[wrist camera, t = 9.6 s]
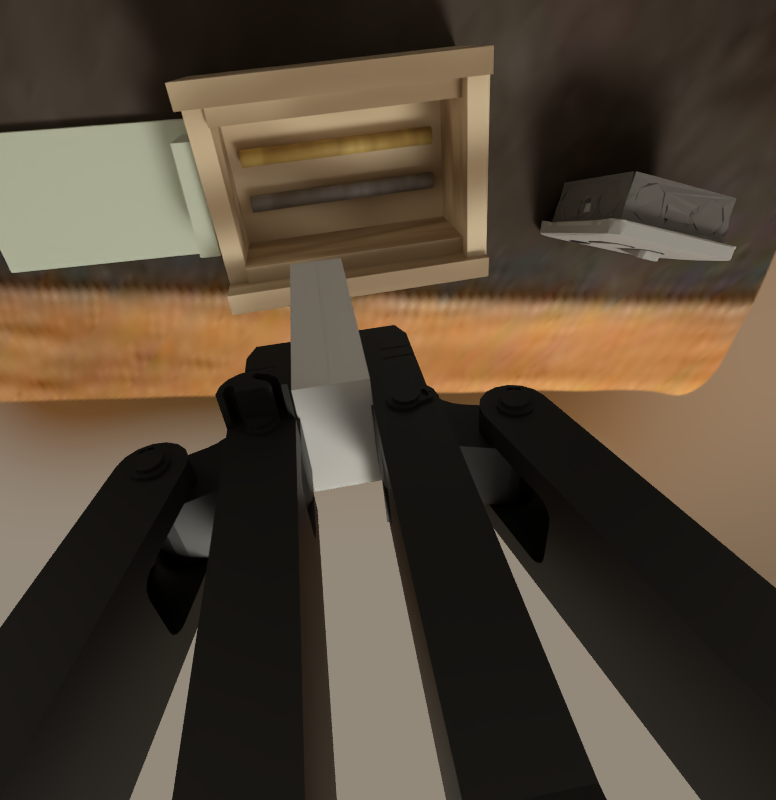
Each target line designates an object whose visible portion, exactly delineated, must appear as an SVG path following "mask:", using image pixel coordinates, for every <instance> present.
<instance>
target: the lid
mask: <svg viewBox="0 0 776 800" xmlns="http://www.w3.org/2000/svg"><path fill="white" fill-rule="evenodd" d="M0 250H1V252H2V254H3V256H4V258H5V260H6V262H7V264H8V266H9V268H10V270H11V273H16V272H26V271H35V270H45V269H55V268H64V267H74V266H84V265H93V264H103V263H113V262H122V261H132V260H142V259H151V258H161V257H171V256H180V255H190V254H199V253H200V257H201V258H205V257H214V256H221V250H220V246H219V243H218V239H217V235H216V232H215V228H214V225H213V221H212V218H211V214H210V211H209V207H208V204H207V200H206V197H205V193H204V190H203V186H202V183H201V179H200V176H199V172H198V169H197V165H196V162H195V158H194V155H193V151H192V148H191V144H190V140H189V137H188V133H187V130H186V126H185V123H184V119H170V120H157V121H144V122H131V123H118V124H104V125H91V126H78V127H65V128H52V129H38V130H25V131H12V132H0Z"/></svg>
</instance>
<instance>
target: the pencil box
mask: <svg viewBox="0 0 776 800" xmlns="http://www.w3.org/2000/svg"><path fill="white" fill-rule="evenodd" d="M493 64H494V45H490V46H451V47H442V48H433V49H424V50H415V51H406V52H398V53H389V54H380V55H371V56H362V57H353V58H345V59H336V60H327V61H318V62H309V63H300V64H292V65H283V66H274V67H265V68H256V69H247V70H238V71H230V72H221V73H212V74H203V75H194V76H187V77H183V78H180V79H177V80H173V81H170V82H166V83H165V85H166V88H167V92H168V95H169V99H170V102H171V105H172V109H173V112H177V111H181V112H182V116H183V119H184V123H185V126H186V130H187V133H188V137H189V140H190V144H191V148H192V151H193V155H194V158H195V162H196V165H197V169H198V172H199V176H200V179H201V183H202V186H203V190H204V193H205V197H206V200H207V204H208V207H209V211H210V214H211V218H212V221H213V225H214V228H215V232H216V235H217V239H218V243H219V246H220V250H221V253H222V257H223V260H224V264H225V267H226V271H227V274H228V278H229V281H230V287H229V292H228V296H227V297H228V301H229V304H230V307H231V311H232V314H233V315H236V314H243V313H249V312H256V311H262V310H269V309H275V308H282V307H289V306H290V265H292V264H299V263H307V262H314V261H321V260H329V259H336V258H341V260H342V264H343V268H344V273H345V277H346V281H347V285H348V289H349V293H350V297H354V296H361V295H367V294H374V293H380V292H387V291H393V290H400V289H406V288H413V287H419V286H426V285H432V284H439V283H446V282H452V281H459V280H465V279H472V278H478V277H485V276H488V264H489V257H488V256H487V255H486V235H487V189H488V143H489V98H490V74H493Z"/></svg>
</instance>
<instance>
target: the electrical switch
mask: <svg viewBox="0 0 776 800" xmlns="http://www.w3.org/2000/svg"><path fill="white" fill-rule="evenodd" d="M633 174H634V171H632V172H626V173H620V174H614V175H608V176H602V177H596V178H589V179H583V180H577V181H571V182H565V183H564V186H563V190H562V194H561V198H560V201H559V203H558V205H557V207H556V211H555V216H554V218H553V220H552V222H550V221H542V224H541V230H540V233H541V234H542V235H545V236H548V237H552V238H557V239H562V240H566V241H571V242H576V243H580V244H585V245H590V246H594V247H599V248H604V249H608V250H613V251H617V252H622V253H627V254H631V255H634V256H637V257H639V258H643V259H647V260H651V261H657V260H658V258H670V259H684V260H714V261H728V260H730V259H731V257H732V255H733V252H734V250H735V248H736V247H735V246H731V245H727V244H724V237H725V234H726V232H727V230H728V226H729V217H730V215H731V212H732V209H733V207H734V204H735V201H736V198H733V197H730V196H726V195H722V194H719V193H715V192H711V191H707V190H704V189H700V188H696V187H693V186H689V185H685V184H682V183H678V182H674V181H671V180H667V179H663V178H660V177H656V176H652V175H649V174H645V173H641V172H638V171H635V174H634V177H633ZM632 178H633V181H632ZM620 181H621V182H620ZM631 182H632V184H631ZM648 183H649V184H648ZM630 187H631V188H630ZM713 199H715V200H713Z"/></svg>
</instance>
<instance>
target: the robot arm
mask: <svg viewBox="0 0 776 800" xmlns="http://www.w3.org/2000/svg"><path fill="white" fill-rule="evenodd" d="M290 310H291V342H287V343H280V344H274V345H267V346H260V347H256V348H255V349H254V351H253V352H252V353H251V354H250V355H249V357H248V358H247V360H246V368H245V373H241V374H239V375H237V376H235V377H233V378H231V379H228V380H227V381H226V382H225V383H224V384H222V385H221V386H220V387H219V389H218V391H217V393H216V398H217V401H218V404H219V407H220V410H221V413H222V415H223V418H224V421H225V424H226V427H227V435H226V438H225V439H223V440H221V441H220V442H218V443H217V444H215V445H212V446H210V447H208V448H206V449H203V450H200V451H198V452H195V453H192V454H190V455H188V454H187V452H186V449H184V448H183V447H181V446H180V445H178V444H174V443H166V442H165V443H158V444H152V445H149V446H146V447H143V448H141V449H138V450H137V451H135V452H133V453H132V454H130V455H129V456H127V457H125V458H124V459H123V460H122V461H121V462H120V463H119V465H118V466H117V467H116V468H115V469H114V471H113V472H112V473H111V475H110V476H109V477H108V479H107V480H106V482H105V483H104V484H103V486H102V487H101V489H100V490H99V491H98V493H97V494H96V496H95V497H94V498H93V500H92V501H91V503H90V504H89V505H88V507H87V508H86V509H85V511H84V512H83V514H82V515H81V516H80V518H79V519H78V521H77V522H76V523H75V525H74V526H73V527H72V529H71V530H70V532H69V533H68V534H67V536H66V537H65V539H64V540H63V541H62V543H61V544H60V545H59V547H58V548H57V550H56V551H55V553H54V554H53V555H52V557H51V558H50V559H49V561H48V562H47V563H46V565H45V566H44V568H43V569H42V570H41V572H40V573H39V575H38V576H37V578H36V579H35V580H34V582H33V583H32V584H31V586H30V587H29V589H28V590H27V591H26V593H25V594H24V595H23V597H22V598H21V600H20V601H19V602H18V604H17V605H16V606H15V608H14V609H13V611H12V612H11V613H10V615H9V616H8V618H7V619H6V620H5V622H4V623H3V625H2V626H1V627H0V800H129V799H130V797H131V794H132V792H133V789H134V786H135V784H136V782H137V779H138V776H139V774H140V772H141V769H142V766H143V764H144V762H145V759H146V757H147V754H148V751H149V749H150V746H151V744H152V741H153V739H154V736H155V734H156V731H157V729H158V726H159V724H160V721H161V719H162V716H163V714H164V711H165V709H166V706H167V703H168V701H169V698H170V696H171V693H172V691H173V688H174V686H175V683H176V681H177V678H178V676H179V673H180V671H181V668H182V665H183V663H184V661H185V658H186V655H187V653H188V650H189V648H190V645H191V643H192V640H193V638H194V635H195V633H196V630H197V628H198V630H197V637H196V643H195V650H194V657H193V664H192V670H191V677H190V683H189V691H188V697H187V703H186V710H185V717H184V724H183V730H182V737H181V744H180V751H179V757H178V764H177V770H176V777H175V784H174V791H173V797H172V800H337V797H336V783H335V767H334V752H333V737H332V722H331V706H330V691H329V676H328V663H327V646H326V631H325V616H324V603H323V602H324V601H323V586H322V571H321V555H320V540H319V525H318V512H317V511H318V510H317V506H316V502H315V497H314V493H313V485H314V489H315V491H322V490H328V489H333V488H339V487H344V486H351V485H357V484H362V483H368V482H374V481H379V480H382V481H383V490H384V497H385V506H386V514H387V521H388V522H389V523H390V527H391V532H392V537H393V542H394V547H395V552H396V557H397V562H398V566H399V571H400V576H401V581H402V586H403V591H404V595H405V601H406V605H407V610H408V615H409V620H410V625H411V630H412V635H413V640H414V644H415V649H416V654H417V659H418V663H419V669H420V674H421V679H422V684H423V688H424V693H425V698H426V703H427V707H428V713H429V717H430V723H431V727H432V732H433V737H434V742H435V747H436V751H437V757H438V762H439V766H440V771H441V776H442V781H443V786H444V791H445V796H446V800H607V799H606V797H605V795H604V793H603V791H602V789H601V787H600V785H599V783H598V780H597V778H596V776H595V773H594V770H593V768H592V766H591V763H590V761H589V758H588V756H587V754H586V751H585V749H584V746H583V744H582V741H581V739H580V737H579V734H578V732H577V729H576V727H575V725H574V722H573V720H572V717H571V715H570V712H569V710H568V708H567V705H566V703H565V700H564V698H563V696H562V693H561V691H560V688H559V686H558V683H557V681H556V679H555V676H554V674H553V671H552V669H551V666H550V664H549V662H548V660H547V657H546V654H545V652H544V650H543V647H542V645H541V642H540V640H539V637H538V635H537V633H536V630H535V628H534V625H533V623H532V621H531V618H530V616H529V613H528V611H527V608H526V606H525V604H524V601H523V599H522V596H521V594H520V591H519V589H518V587H517V584H516V582H515V579H514V577H513V575H512V572H511V570H510V567H509V565H508V562H507V560H506V558H505V555H504V553H503V550H502V548H501V546H500V543H499V541H498V538H497V536H496V533H495V531H494V529H495V530H496V531H497V533H498V534H499V535H500V537H501V538H502V539H503V540H504V542H505V543H506V545H507V546H508V547H509V549H510V550H511V551H512V553H513V554H514V555H515V556H516V558H517V559H518V560H519V562H520V563H521V564H522V566H523V567H524V568H525V570H526V571H527V572H528V574H529V575H530V576H531V577H532V579H533V580H534V581H535V583H536V584H537V585H538V587H539V588H540V589H541V591H542V592H543V593H544V594H545V596H546V597H547V598H548V600H549V601H550V602H551V604H552V605H553V606H554V608H555V609H556V610H557V612H558V613H559V614H560V616H561V617H562V618H563V619H564V621H565V622H566V623H567V625H568V626H569V627H570V629H571V630H572V631H573V632H574V634H575V635H576V637H577V638H578V639H579V640H580V642H581V643H582V644H583V646H584V647H585V648H586V650H587V651H588V652H589V654H590V655H591V656H592V657H593V659H594V660H595V661H596V663H597V664H598V665H599V667H600V668H601V669H602V671H603V672H604V673H605V675H606V676H607V677H608V678H609V680H610V681H611V682H612V684H613V685H614V686H615V688H616V689H617V690H618V692H619V693H620V694H621V696H622V697H623V698H624V699H625V701H626V702H627V703H628V705H629V706H630V707H631V709H632V710H633V711H634V712H635V714H636V715H637V717H638V718H639V719H640V720H641V722H642V723H643V724H644V726H645V727H646V728H647V730H648V731H649V732H650V734H651V735H652V736H653V737H654V739H655V740H656V741H657V743H658V744H659V745H660V747H661V748H662V749H663V751H664V752H665V753H666V755H667V756H668V757H669V758H670V760H671V761H672V762H673V764H674V765H675V766H676V767H677V769H678V770H679V772H680V773H681V774H682V776H683V777H684V778H685V780H686V781H687V782H688V783H689V785H690V786H691V787H692V789H693V790H694V791H695V793H696V794H697V795H698V797H699V798H700V799H701V800H776V588H775V587H774V586H773V585H771V584H770V583H769V582H768V581H767V580H765V579H764V578H763V577H762V576H761V575H759V574H758V573H757V572H756V571H754V570H753V569H752V568H751V567H750V566H748V565H747V564H746V563H745V562H744V561H742V560H741V559H740V558H739V557H737V556H736V555H735V554H734V553H733V552H732V551H730V550H729V549H728V548H727V547H726V546H724V545H723V544H722V543H721V542H720V541H718V540H717V539H716V538H715V537H714V536H712V535H711V534H710V533H709V532H708V531H706V530H705V529H704V528H703V527H702V526H700V525H699V524H698V523H697V522H696V521H694V520H693V519H692V518H691V517H689V516H688V515H687V514H686V513H684V511H682V510H681V509H680V508H679V507H678V506H676V505H675V504H674V503H673V502H672V501H670V500H669V499H668V498H666V497H665V496H664V495H663V494H662V493H661V492H660V491H658V490H657V489H656V488H655V487H654V486H652V485H651V484H650V483H649V482H647V481H646V480H645V479H644V478H642V477H641V476H640V475H639V474H638V473H637V472H635V471H634V470H633V469H632V468H631V467H629V466H628V465H627V464H626V463H625V462H623V461H622V460H621V459H620V458H618V457H617V456H616V455H615V454H614V453H613V452H611V451H610V450H609V449H608V448H607V447H605V446H604V445H603V444H602V443H600V442H599V441H598V440H597V439H596V438H595V437H593V436H592V435H591V434H590V433H589V432H587V431H586V430H585V429H584V428H583V427H581V426H580V425H579V424H578V423H577V422H575V421H574V420H573V419H572V418H570V417H569V416H568V415H567V414H566V413H564V412H563V411H562V410H561V409H560V408H559V407H557V406H556V405H555V404H553V402H551V401H550V400H549V399H548V398H546V397H545V396H544V395H543V394H541V393H539V392H538V391H536V390H534V389H531V388H527V387H524V386H516V385H506V386H500V387H495V388H493V389H491V390H489V391H487V392H486V393H485V394H484V395H483V396H482V398H481V399H480V405H463V404H454V403H450V402H447V401H443V400H441V399H440V398H439V396H438V394H437V393H436V392H435V390H434V389H433V388H431V387H429V386H427V385H426V382H425V380H424V377H423V375H422V372H421V370H420V367H419V365H418V362H417V360H416V357H415V355H414V352H413V350H412V347H411V345H410V342H409V340H408V337H407V334H406V333H405V332H403V331H402V330H401V329H399V328H398V327H396V326H395V325H392V326H385V327H378V328H371V329H365V330H358V327H357V323H356V318H355V314H354V310H353V306H352V302H351V298H350V293H349V289H348V285H347V281H346V277H345V273H344V268H343V264H342V260H341V258H336V259H329V260H321V261H314V262H307V263H299V264H292V265H290ZM493 528H494V529H493Z"/></svg>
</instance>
